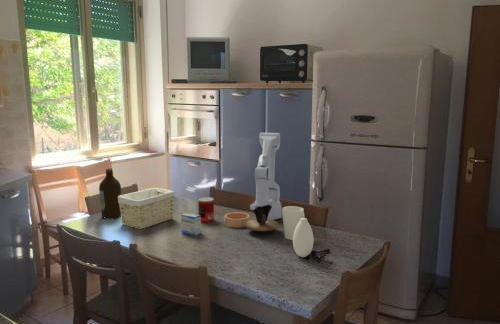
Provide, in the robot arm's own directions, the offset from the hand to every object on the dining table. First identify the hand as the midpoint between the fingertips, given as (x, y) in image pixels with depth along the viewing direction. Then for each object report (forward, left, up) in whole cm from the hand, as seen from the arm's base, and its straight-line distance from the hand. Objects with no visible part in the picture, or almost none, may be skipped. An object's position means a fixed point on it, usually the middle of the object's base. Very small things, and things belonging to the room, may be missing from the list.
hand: (262, 221), depth 195 cm
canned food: (+11, -31, -5) cm, 33 cm away
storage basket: (+36, -46, -5) cm, 59 cm away
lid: (0, 0, -2) cm, 2 cm away
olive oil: (+47, -66, -5) cm, 81 cm away
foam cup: (-6, +14, -5) cm, 16 cm away
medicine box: (+27, -18, -5) cm, 33 cm away
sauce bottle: (+6, +33, -5) cm, 34 cm away
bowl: (+2, -17, -5) cm, 18 cm away
